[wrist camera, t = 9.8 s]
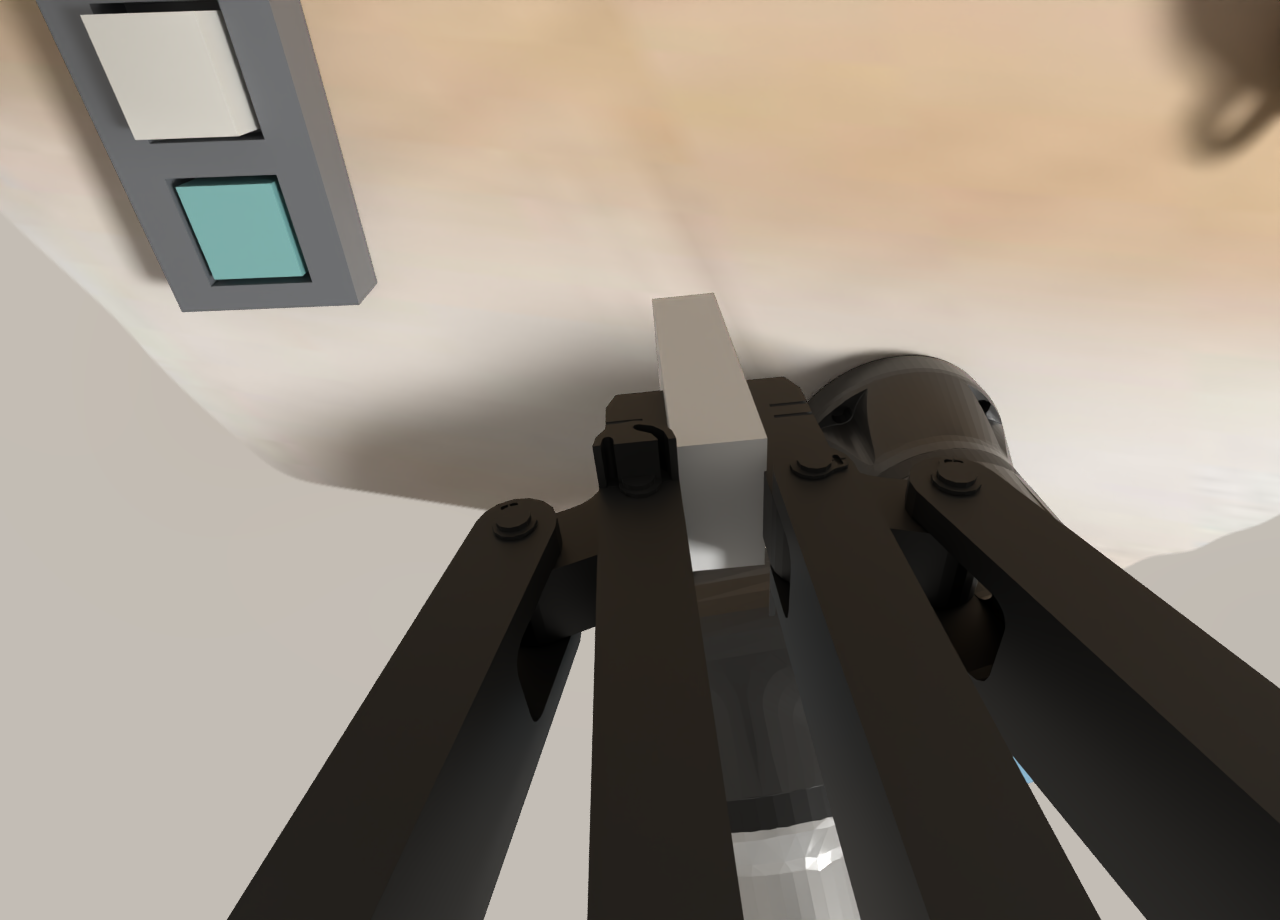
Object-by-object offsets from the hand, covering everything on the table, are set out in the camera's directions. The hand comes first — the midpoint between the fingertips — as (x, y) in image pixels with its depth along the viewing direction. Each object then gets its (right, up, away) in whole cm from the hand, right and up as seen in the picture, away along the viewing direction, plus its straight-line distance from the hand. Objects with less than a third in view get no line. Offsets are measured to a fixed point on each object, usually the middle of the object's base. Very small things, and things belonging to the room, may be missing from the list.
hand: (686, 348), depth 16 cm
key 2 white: (-23, +16, +14) cm, 31 cm away
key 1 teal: (-22, +11, +20) cm, 32 cm away
